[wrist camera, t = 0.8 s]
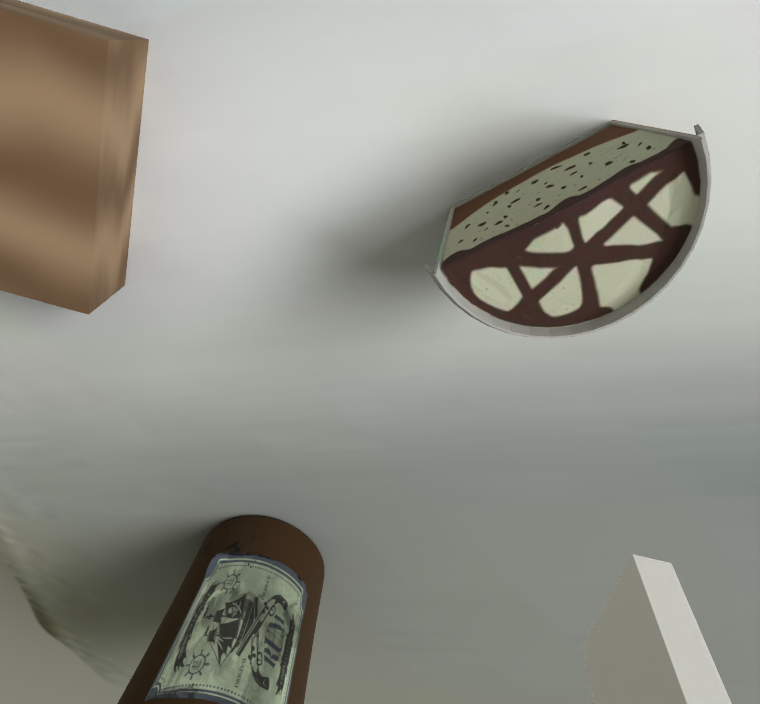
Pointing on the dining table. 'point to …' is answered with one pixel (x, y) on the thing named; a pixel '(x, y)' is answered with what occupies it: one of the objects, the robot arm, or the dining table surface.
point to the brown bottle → (237, 621)
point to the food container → (578, 232)
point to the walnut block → (66, 154)
